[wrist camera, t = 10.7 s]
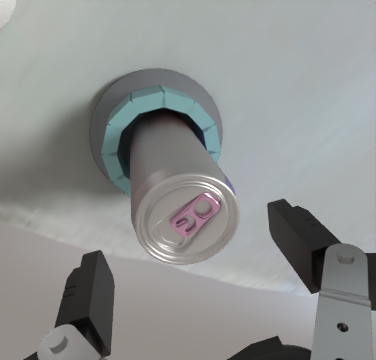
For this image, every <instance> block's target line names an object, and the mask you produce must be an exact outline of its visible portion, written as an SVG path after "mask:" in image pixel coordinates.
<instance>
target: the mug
mask: <svg viewBox="0 0 376 360" xmlns="http://www.w3.org/2000/svg"><path fill="white" fill-rule="evenodd" d="M15 5H16V0H0V30H1V29H2V28H3V27H4V26H5V25H6V24H7V22H8V21H9V20H10V18H11V16H12V14H13V12H14V9H15Z"/></svg>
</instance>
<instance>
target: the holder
mask: <svg viewBox="0 0 376 360" xmlns="http://www.w3.org/2000/svg"><path fill="white" fill-rule="evenodd" d="M159 110H164V111H170V112H173V113H175V114H177V115H179V116H180V117H181V118H182V119H183V120H184V121H185V122H186V123H187V125H188V126H189V127H190V129H191V130H192V131H193V133H194V134H195V135H196V137H197V138H198V139H199V141H200V142H201V143H202V145H203V146H204V147H205V149H206V150H207V152H208V153H209V154H210V156H211V157H212V158H213V160H214V161H215V162H216V164H217V162H218V159H219V157H220V154H221V153H220V152H221V144H222V132H223V131H222V122H221V118H220V114H219V111H218V109H217V106H216V104H215V103H214V101H213V99H212V98H211V96H210V95H209V94H208V92H207V91H206V90H205V89H204V88H203V87H202V86H201V85H199V84H198V83H197V82H196V81H194V80H192V79H191V78H189V77H187V76H185V75H183V74H181V73H178V72H175V71H171V70H167V69H146V70H140V71H137V72H134V73H131V74H129V75H127V76H125V77H123V78H121V79H120V80H118V81H117V82H115V83H114V84H113V85H112V86H111V87H110V88H108V89H107V91H106V92H105V93H104V94H103V96H102V97H101V99H100V100H99V102H98V104H97V106H96V108H95V110H94V113H93V116H92V119H91V124H90V144H91V150H92V153H93V156H94V158H95V161H96V163H97V165H98V166H99V168H100V169H101V171H102V172H103V173H104V175H105V176H106V177H107V178H108V179H109V180H110V181H111V182H112V183H113V184H114V185H115V186H117V187H118V188H119V189H120V190H122V191H123V192H124V193H125V194H127V195H128V196H129V197H130V198H131V183H130V135H131V131H132V129H133V127H134V125H135V123H136V122H137V121H138V120H139V119H140V118H141V117H142V116H144V115H146V114H148V113H150V112H153V111H159Z"/></svg>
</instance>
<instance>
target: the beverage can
mask: <svg viewBox="0 0 376 360" xmlns="http://www.w3.org/2000/svg"><path fill="white" fill-rule="evenodd" d="M130 183H131V220H132V224H133V227H134V230H135V232H136V235H137V238H138V240H139V242H140V244H141V245H142V247H143V248H144V249H145V250H146V251H147V252H148V253H149V254H150V255H151V256H153V257H154V258H156V259H158V260H160V261H163V262H166V263H169V264H176V265H187V264H194V263H198V262H201V261H204V260H206V259H208V258H210V257H212V256H214V255H216V254H217V253H218V252H220V251H221V250H222V249H223V248H224V247H225V246H226V245H227V244H228V243H229V242H230V241H231V239H232V238H233V236H234V234H235V232H236V230H237V227H238V224H239V218H240V210H239V204H238V201H237V198H236V194H235V191H234V188H233V186H232V184H231V183H230V181H229V180H228V179H227V177H226V176H225V174H224V173H223V172H222V170H221V169H220V168H219V166H218V165H217V164H216V162H215V161H214V160H213V158H212V157H211V156H210V154H209V153H208V152H207V150H206V149H205V147H204V146H203V145H202V143H201V142H200V141H199V139H198V138H197V137H196V135H195V134H194V133H193V131H192V130H191V129H190V127H189V126H188V125H187V123H186V122H185V121H184V120H183V119H182V118H181V117H180V116H179V115H177V114H175V113H173V112H170V111H164V110H159V111H153V112H150V113H148V114H146V115H144V116H142V117H141V118H140V119H139V120H138V121H137V122H136V123H135V125H134V127H133V129H132V131H131V135H130Z"/></svg>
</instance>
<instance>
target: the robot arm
mask: <svg viewBox="0 0 376 360" xmlns="http://www.w3.org/2000/svg"><path fill="white" fill-rule="evenodd" d="M267 207H268V219H269V229H270V233H271V236H272V239H273V240H274V242H275V243H276V245H277V246H278V248H279V249H280V250H281V252H282V253H283V255H284V256H285V257H286V259H287V260H288V262H289V263H290V264H291V266H292V267H293V269H294V270H295V271H296V273H297V274H298V276H299V277H300V278H301V280H302V281H303V283H304V284H305V285H306V287H307V288H308V290H309V291H310V292H311V294H313V293H317V292H319V297H318V305H317V313H316V321H315V328H314V336H313V344H312V351H311V350H309V349H306V348H303V347H299V346H295V345H282V343H281V341H280V339H279V337H278V336H276V337H272V338H269V339H266V340H263V341H260V342H257V343H253V344H251V345H249V346H248V347H246V348H244V349H243V350H241V351H240V352H238V353H237V354H235V355H234V356H232V357H231V358H229V359H227V360H373V347H372V320H371V310H375V311H376V253H364V252H363V251H362V250H361V249H360V248H358V247H356V246H354V245H350V244H344V243H341V242H340V241H339V240H338V239H337V238H336V237H335V236H334V235H333V234H332V233H331V232H330V231H329V230H328V229H327V228H326V227H325V226H324V225H322V224H321V223H320V222H319V221H318V220H317V219H315V217H314V216H313V215H312V214H311V213H310V212H309V211H308V210H306V209H304V208H301V207H299V206H295V207H292V206H291V205H290V204H289V203H288V202H287V201H286V200H285V199H281V200H277V201H273V202H270V203H268V206H267ZM114 288H115V286H114V279H113V275H112V273H111V270H110V268H109V266H108V264H107V262H106V259H105V257H104V255H103V253H102V251H101V250H98V251H94V252H91V253H87V254H84V255H83V257H82V261H81V266H80V267H79V268H75V269H74V270H73V271H72V273H71V274H70V275H69V277H68V278H67V282H66V286H65V290H64V293H63V299H62V301H61V304H60V308H59V312H58V316H57V320H56V324H55V328H54V329H53V330H52V331H50V332H49V333H48V334H47V335H46V336H45V337H44V338H43V340H42V341H41V343H40V345H39V347H38V351H37V352H35V353H34V354H32V355H31V356H29V357H27V358H26V359H24V360H107V359H106V358H105V357H106V356H109V355H110V353H111V338H112V321H113V305H114Z"/></svg>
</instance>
